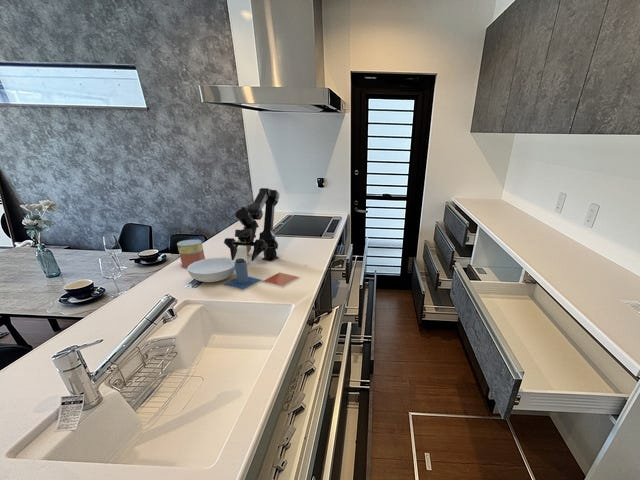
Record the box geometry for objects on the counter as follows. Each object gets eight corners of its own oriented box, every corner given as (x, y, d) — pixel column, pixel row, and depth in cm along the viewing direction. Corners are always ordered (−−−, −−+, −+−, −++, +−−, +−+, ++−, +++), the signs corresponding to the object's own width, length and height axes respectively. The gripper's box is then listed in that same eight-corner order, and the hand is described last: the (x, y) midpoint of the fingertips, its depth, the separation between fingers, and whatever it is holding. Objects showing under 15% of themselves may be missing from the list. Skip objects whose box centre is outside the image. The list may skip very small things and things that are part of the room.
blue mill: (236, 281, 142) (232, 259, 137) (247, 279, 144) (243, 257, 140) (239, 285, 138) (235, 262, 134) (250, 282, 141) (247, 260, 136)
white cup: (251, 262, 166) (249, 244, 162) (241, 267, 159) (239, 249, 155) (240, 260, 168) (237, 243, 164) (229, 265, 162) (226, 247, 158)
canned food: (184, 261, 165) (179, 240, 160) (207, 259, 168) (203, 238, 163) (179, 268, 155) (174, 246, 150) (204, 266, 158) (199, 244, 154)
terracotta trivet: (262, 282, 143) (262, 281, 143) (279, 273, 153) (279, 272, 153) (282, 287, 138) (282, 286, 138) (298, 277, 148) (298, 277, 148)
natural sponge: (242, 259, 171) (239, 241, 167) (232, 255, 175) (229, 239, 171) (255, 254, 178) (253, 238, 174) (245, 251, 182) (243, 235, 178)
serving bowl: (182, 288, 134) (179, 274, 132) (199, 270, 153) (196, 257, 151) (232, 286, 138) (230, 272, 135) (242, 269, 157) (240, 256, 154)
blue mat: (223, 285, 138) (223, 284, 138) (243, 276, 149) (243, 275, 148) (243, 290, 134) (242, 289, 134) (262, 280, 144) (262, 279, 144)
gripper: (222, 221, 138) (213, 251, 132) (262, 222, 137) (255, 253, 131) (233, 233, 148) (225, 262, 142) (270, 234, 147) (264, 264, 141)
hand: (242, 260), depth 139 cm, fingers open, 9 cm apart
